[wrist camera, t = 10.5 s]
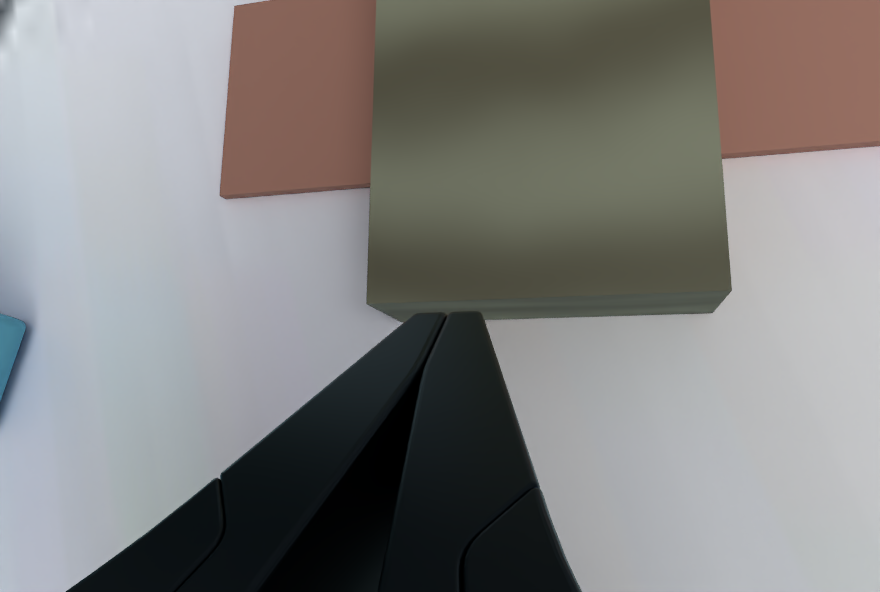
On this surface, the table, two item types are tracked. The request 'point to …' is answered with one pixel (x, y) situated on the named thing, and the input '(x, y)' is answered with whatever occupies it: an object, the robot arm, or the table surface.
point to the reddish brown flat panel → (352, 80)
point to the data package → (9, 346)
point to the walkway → (546, 159)
